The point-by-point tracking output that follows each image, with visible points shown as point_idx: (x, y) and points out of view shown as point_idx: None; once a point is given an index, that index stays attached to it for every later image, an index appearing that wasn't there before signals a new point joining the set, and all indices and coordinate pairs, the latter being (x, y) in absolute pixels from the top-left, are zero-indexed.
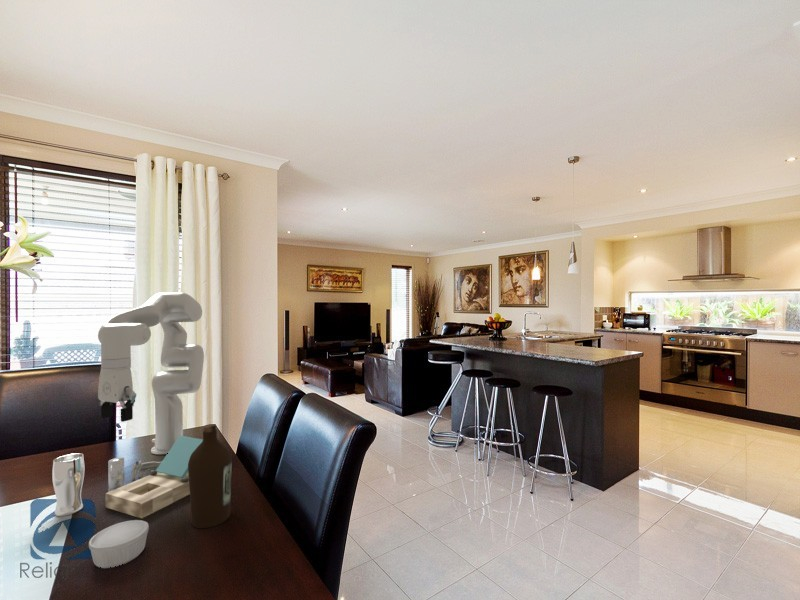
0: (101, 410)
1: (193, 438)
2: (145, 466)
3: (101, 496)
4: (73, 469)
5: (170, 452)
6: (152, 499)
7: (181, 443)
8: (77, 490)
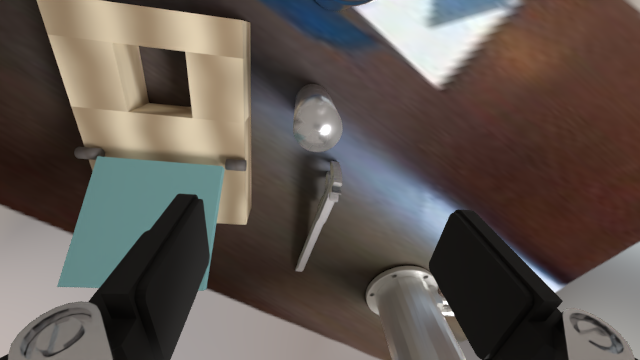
0: (512, 259)
1: None
2: (324, 197)
3: (329, 71)
4: None
5: None
6: (51, 34)
7: None
8: None
